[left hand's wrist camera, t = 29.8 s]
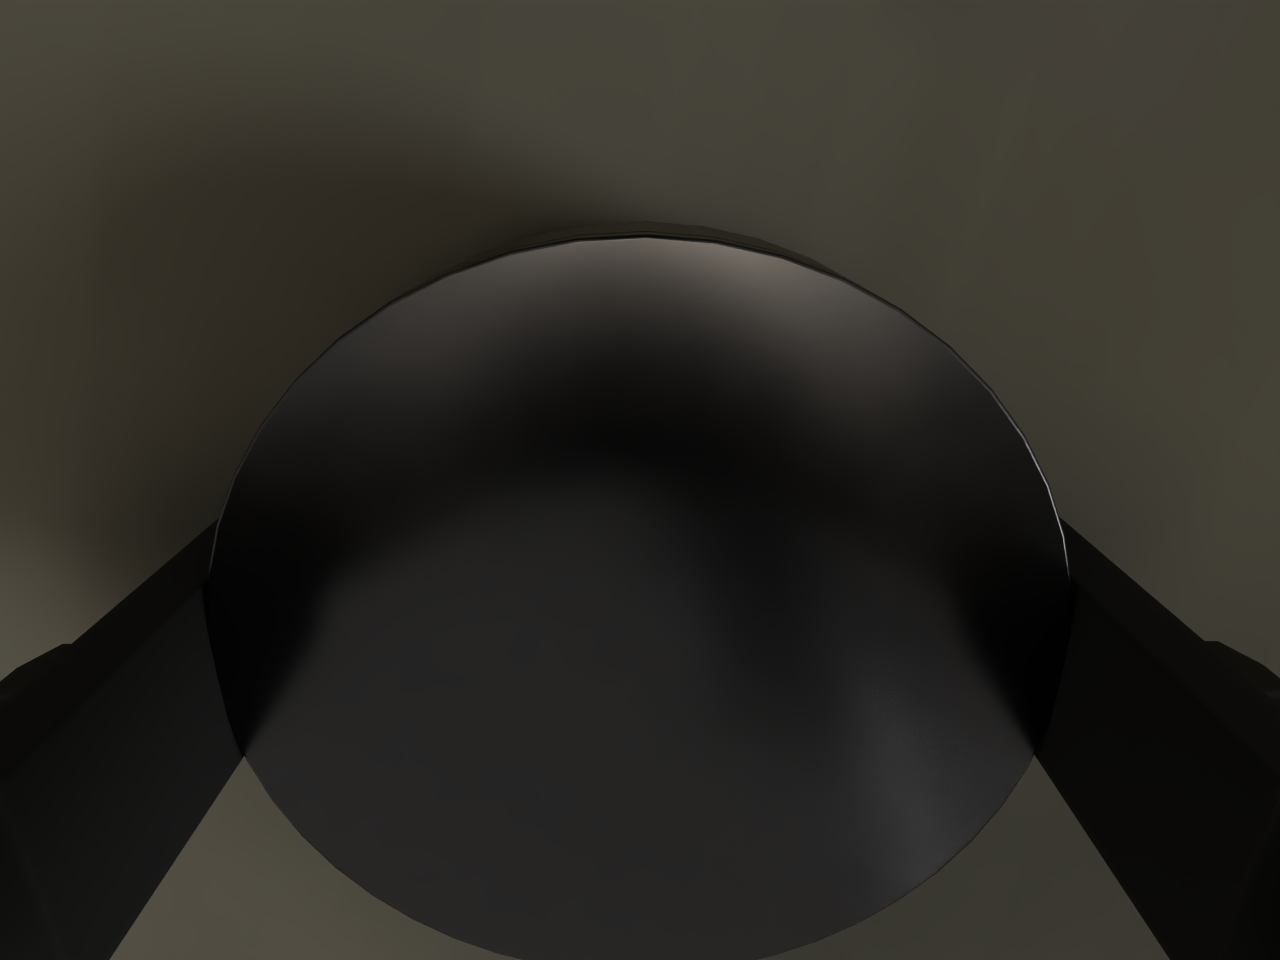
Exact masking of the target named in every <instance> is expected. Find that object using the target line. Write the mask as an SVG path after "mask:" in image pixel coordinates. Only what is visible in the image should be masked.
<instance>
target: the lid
mask: <svg viewBox="0 0 1280 960" xmlns="http://www.w3.org/2000/svg"><path fill="white" fill-rule="evenodd" d="M1071 589H1072V585H1071V578H1070V571H1069V564H1068V557H1067V549H1066V542H1065V535H1064V531H1063V528H1062V525H1061V522H1060V518H1059V515H1058V512H1057V509H1056V505H1055V502H1054V499H1053V496H1052V493H1051V489H1050V486H1049V483H1048V481H1047V479H1046V477H1045V475H1044V473H1043V471H1042V469H1041V467H1040V465H1039V463H1038V461H1037V459H1036V457H1035V455H1034V453H1033V451H1032V449H1031V447H1030V445H1029V443H1028V441H1027V439H1026V437H1025V435H1024V434H1023V432H1022V431H1021V429H1020V428H1019V427H1018V425H1017V424H1016V422H1015V421H1014V419H1013V418H1012V417H1011V415H1010V414H1009V412H1008V411H1007V410H1006V408H1005V407H1004V405H1003V404H1002V403H1001V401H1000V400H999V398H998V397H997V396H996V394H995V393H994V391H993V390H992V389H991V388H990V387H989V386H988V385H987V383H986V382H985V381H984V380H983V379H982V378H981V377H980V376H979V375H978V374H977V373H976V372H975V371H974V370H973V369H972V368H971V367H970V366H969V365H968V364H967V363H966V362H965V361H964V360H963V359H962V358H961V357H960V356H959V355H958V354H957V353H956V352H955V351H954V350H953V349H952V348H951V347H950V346H949V345H948V344H947V343H945V342H944V341H943V340H941V339H940V338H939V337H937V336H936V335H935V334H933V333H932V332H931V331H929V330H928V329H927V328H925V327H924V326H923V325H921V324H920V323H919V322H917V321H916V320H915V319H913V318H912V317H911V316H909V315H908V314H907V313H905V312H904V311H903V310H902V309H900V308H898V307H897V306H895V305H893V304H891V303H890V302H888V301H886V300H884V299H883V298H881V297H879V296H878V295H876V294H874V293H872V292H871V291H869V290H867V289H865V288H864V287H862V286H860V285H858V284H857V283H855V282H853V281H851V280H849V279H847V278H846V277H844V276H842V275H840V274H838V273H837V272H835V271H833V270H831V269H829V268H827V267H826V266H824V265H822V264H820V263H818V262H816V261H815V260H813V259H811V258H809V257H806V256H803V255H801V254H798V253H795V252H793V251H790V250H787V249H785V248H782V247H779V246H777V245H774V244H771V243H769V242H766V241H763V240H761V239H758V238H753V237H749V236H745V235H740V234H736V233H731V232H727V231H722V230H718V229H713V228H709V227H704V226H695V225H683V224H671V223H659V222H647V221H643V222H625V223H607V224H589V225H583V226H578V227H573V228H568V229H562V230H557V231H552V232H547V233H542V234H537V235H532V236H529V237H526V238H523V239H520V240H517V241H514V242H511V243H508V244H506V245H503V246H500V247H497V248H494V249H491V250H488V251H485V252H482V253H479V254H477V255H475V256H473V257H471V258H469V259H467V260H466V261H464V262H462V263H460V264H458V265H456V266H454V267H452V268H450V269H448V270H446V271H444V272H442V273H440V274H438V275H436V276H434V277H432V278H430V279H429V280H427V281H425V282H423V283H422V284H420V285H418V286H416V287H415V288H413V289H411V290H409V291H408V292H406V293H404V294H403V295H401V296H399V297H397V298H396V299H394V300H392V301H390V302H389V303H387V304H386V305H385V306H383V307H382V308H380V309H379V310H378V311H376V312H375V313H373V314H372V315H370V316H369V317H368V318H366V319H365V320H363V321H362V322H361V323H359V324H358V325H356V326H355V327H354V328H352V329H351V330H349V331H348V332H347V333H345V334H344V335H342V336H341V337H340V338H338V339H337V340H336V341H335V342H334V343H333V344H332V345H331V346H330V347H329V348H328V349H327V350H326V351H325V352H324V353H323V354H322V355H320V356H319V357H318V358H317V359H316V360H315V361H314V362H313V363H312V364H311V365H310V366H309V367H308V368H307V369H306V370H305V371H304V372H303V373H302V374H301V375H300V376H299V377H298V378H297V379H296V380H295V381H294V382H293V383H292V385H291V386H290V387H289V389H288V390H287V391H286V393H285V394H284V395H283V397H282V398H281V399H280V400H279V402H278V403H277V404H276V406H275V407H274V408H273V410H272V411H271V412H270V414H269V415H268V416H267V418H266V419H265V420H264V422H263V423H262V424H261V425H260V427H259V429H258V431H257V433H256V435H255V436H254V438H253V440H252V442H251V444H250V446H249V448H248V450H247V451H246V453H245V455H244V457H243V459H242V461H241V463H240V464H239V466H238V468H237V470H236V472H235V474H234V476H233V479H232V482H231V485H230V488H229V491H228V494H227V497H226V499H225V502H224V505H223V508H222V511H221V514H220V517H219V520H218V523H217V527H216V533H215V538H214V544H213V550H212V556H211V561H210V567H209V573H208V614H207V626H208V634H209V640H210V645H211V650H212V655H213V659H214V664H215V669H216V673H217V677H218V681H219V686H220V690H221V694H222V697H223V701H224V705H225V709H226V713H227V717H228V720H229V722H230V725H231V727H232V729H233V731H234V733H235V735H236V738H237V740H238V742H239V744H240V746H241V748H242V751H243V753H244V755H245V757H246V759H247V761H248V763H249V764H250V766H251V768H252V769H253V771H254V772H255V774H256V775H257V777H258V779H259V780H260V782H261V783H262V785H263V786H264V788H265V790H266V791H267V793H268V794H269V796H270V797H271V799H272V801H273V802H274V803H275V804H276V805H277V807H278V808H279V809H280V810H281V811H282V813H283V814H284V815H285V816H286V817H287V819H288V820H289V821H290V822H291V823H292V825H293V826H294V827H295V828H296V829H297V831H298V832H299V833H300V834H301V835H302V836H303V837H304V838H305V839H306V840H307V841H308V842H309V843H310V844H311V845H312V846H313V847H314V848H315V849H316V850H317V851H318V852H320V853H321V854H322V855H323V856H324V857H325V858H326V859H327V860H328V861H329V862H330V863H331V864H332V865H333V866H334V867H335V868H337V869H338V870H339V871H341V872H342V873H343V874H345V875H346V876H347V877H349V878H350V879H351V880H353V881H354V882H355V883H357V884H358V885H359V886H361V887H362V888H363V889H365V890H366V891H367V892H369V893H370V894H371V895H373V896H374V897H376V898H378V899H379V900H381V901H383V902H385V903H386V904H388V905H390V906H391V907H393V908H395V909H396V910H398V911H400V912H401V913H403V914H405V915H406V916H408V917H410V918H411V919H413V920H416V921H418V922H420V923H422V924H424V925H426V926H429V927H431V928H433V929H435V930H437V931H439V932H442V933H444V934H446V935H448V936H450V937H452V938H455V939H457V940H460V941H463V942H466V943H469V944H472V945H475V946H478V947H480V948H483V949H486V950H489V951H492V952H495V953H498V954H502V955H506V956H510V957H514V958H518V959H522V960H756V959H761V958H765V957H769V956H773V955H777V954H780V953H783V952H786V951H789V950H792V949H795V948H798V947H801V946H804V945H807V944H810V943H813V942H816V941H818V940H821V939H823V938H825V937H828V936H830V935H832V934H834V933H837V932H839V931H841V930H843V929H846V928H848V927H850V926H852V925H855V924H857V923H859V922H861V921H863V920H864V919H866V918H868V917H870V916H871V915H873V914H875V913H877V912H879V911H880V910H882V909H884V908H886V907H887V906H889V905H891V904H893V903H894V902H896V901H898V900H899V899H901V898H902V897H904V896H905V895H906V894H908V893H909V892H911V891H912V890H913V889H915V888H916V887H918V886H919V885H920V884H922V883H923V882H925V881H926V880H927V879H929V878H930V877H931V876H933V875H934V874H936V873H937V872H938V871H939V870H940V869H941V868H942V867H944V866H945V865H946V864H947V863H948V862H949V861H950V860H951V859H952V858H954V857H955V856H956V855H957V854H958V853H959V852H960V851H961V850H962V849H963V848H965V847H966V846H967V845H968V844H969V843H970V842H971V841H972V840H973V839H974V838H975V836H976V835H977V834H978V833H979V832H980V831H981V830H982V828H983V827H984V826H985V825H986V824H987V823H988V822H989V820H990V819H991V818H992V817H993V816H994V815H995V814H996V812H997V811H998V810H999V809H1000V808H1001V807H1002V805H1003V804H1004V802H1005V801H1006V799H1007V798H1008V796H1009V795H1010V793H1011V792H1012V790H1013V789H1014V787H1015V786H1016V784H1017V783H1018V781H1019V780H1020V778H1021V777H1022V775H1023V774H1024V772H1025V771H1026V769H1027V768H1028V766H1029V764H1030V762H1031V760H1032V757H1033V755H1034V753H1035V751H1036V749H1037V747H1038V745H1039V743H1040V741H1041V739H1042V737H1043V735H1044V733H1045V731H1046V729H1047V727H1048V724H1049V721H1050V718H1051V715H1052V712H1053V708H1054V704H1055V700H1056V697H1057V693H1058V689H1059V685H1060V680H1061V676H1062V672H1063V667H1064V663H1065V658H1066V653H1067V649H1068V644H1069V640H1070V635H1071Z"/></svg>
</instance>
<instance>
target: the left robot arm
mask: <svg viewBox="0 0 1280 960" xmlns="http://www.w3.org/2000/svg"><path fill="white" fill-rule="evenodd" d="M1059 518H1060V517H1059ZM218 520H219V518H218V519H217V520H216V521H215V522H214V523H212V524H211V525H210V526H209V527H208V528H207V529H205V530H204V531H203V532H202V533H201V534H200V535H198V536H197V537H196V538H195V539H194V540H193V541H191V542H190V543H189V544H188V545H187V546H186V547H184V548H183V549H182V550H181V551H180V552H179V553H177V554H176V555H175V556H174V557H173V558H172V559H170V560H169V561H168V562H167V563H166V564H165V565H163V566H162V567H161V568H160V569H159V570H158V571H156V572H155V573H154V574H153V575H152V576H151V577H149V578H148V579H147V580H146V581H145V582H143V583H142V584H141V585H140V586H139V587H138V588H136V589H135V590H134V591H133V592H132V593H131V594H129V595H128V596H127V597H126V598H125V599H124V600H122V601H121V602H120V603H119V604H118V605H117V606H115V607H114V608H113V609H112V610H111V611H110V612H108V613H107V614H106V615H105V616H104V617H103V618H101V619H100V620H99V621H98V622H97V623H96V624H94V625H93V626H92V627H91V628H90V629H89V630H87V631H86V632H85V633H84V634H83V635H82V636H80V637H79V638H78V639H77V640H76V641H75V642H73V643H72V644H62V645H60V646H58V647H56V648H54V649H52V650H50V651H48V652H46V653H44V654H43V655H41V656H39V657H37V658H35V659H33V660H31V661H29V662H27V663H25V664H24V665H22V666H20V667H18V668H16V669H15V670H14V671H13V672H11V673H10V674H9V675H8V676H7V677H5V678H4V679H3V680H2V681H0V960H109V959H110V958H111V956H112V955H113V953H114V952H115V950H116V949H117V947H118V946H119V944H120V943H121V941H122V940H123V938H124V937H125V935H126V934H127V932H128V931H129V929H130V928H131V926H132V925H133V923H134V922H135V920H136V919H137V917H138V916H139V914H140V913H141V911H142V910H143V908H144V906H145V905H146V903H147V902H148V900H149V899H150V897H151V896H152V894H153V893H154V891H155V890H156V888H157V887H158V885H159V884H160V882H161V881H162V879H163V878H164V876H165V875H166V873H167V872H168V870H169V869H170V867H171V866H172V864H173V863H174V861H175V860H176V858H177V857H178V855H179V854H180V852H181V851H182V849H183V848H184V846H185V845H186V843H187V841H188V840H189V838H190V837H191V835H192V834H193V832H194V831H195V829H196V828H197V826H198V825H199V823H200V822H201V820H202V819H203V817H204V816H205V814H206V813H207V811H208V810H209V808H210V807H211V805H212V804H213V802H214V801H215V799H216V798H217V796H218V795H219V793H220V792H221V790H222V789H223V787H224V786H225V784H226V783H227V781H228V779H229V778H230V776H231V775H232V773H233V772H234V770H235V769H236V767H237V766H238V764H239V763H240V761H241V760H242V758H243V757H244V753H243V751H242V748H241V746H240V744H239V742H238V740H237V738H236V735H235V733H234V731H233V729H232V727H231V725H230V722H229V720H228V717H227V713H226V709H225V705H224V701H223V697H222V694H221V690H220V686H219V681H218V677H217V673H216V669H215V664H214V659H213V655H212V650H211V645H210V640H209V634H208V626H207V614H208V573H209V567H210V561H211V556H212V550H213V544H214V538H215V533H216V527H217V523H218ZM1060 522H1061V525H1062V528H1063V531H1064V535H1065V542H1066V549H1067V557H1068V564H1069V571H1070V578H1071V585H1072V589H1071V635H1070V640H1069V644H1068V649H1067V653H1066V658H1065V663H1064V667H1063V672H1062V676H1061V680H1060V685H1059V689H1058V693H1057V697H1056V700H1055V704H1054V708H1053V712H1052V715H1051V718H1050V721H1049V724H1048V727H1047V729H1046V731H1045V733H1044V735H1043V737H1042V739H1041V741H1040V743H1039V745H1038V747H1037V749H1036V751H1035V753H1034V755H1035V756H1036V758H1037V759H1038V761H1039V762H1040V764H1041V765H1042V767H1043V768H1044V770H1045V771H1046V773H1047V774H1048V776H1049V777H1050V779H1051V780H1052V782H1053V783H1054V785H1055V786H1056V788H1057V789H1058V791H1059V792H1060V794H1061V795H1062V797H1063V798H1064V800H1065V801H1066V803H1067V804H1068V806H1069V808H1070V809H1071V811H1072V812H1073V814H1074V815H1075V817H1076V818H1077V820H1078V821H1079V823H1080V824H1081V826H1082V827H1083V829H1084V830H1085V832H1086V833H1087V835H1088V836H1089V838H1090V839H1091V841H1092V842H1093V844H1094V845H1095V847H1096V848H1097V850H1098V851H1099V853H1100V854H1101V856H1102V857H1103V859H1104V860H1105V862H1106V863H1107V865H1108V866H1109V868H1110V870H1111V871H1112V873H1113V874H1114V876H1115V877H1116V879H1117V880H1118V882H1119V883H1120V885H1121V886H1122V888H1123V889H1124V891H1125V892H1126V894H1127V895H1128V897H1129V898H1130V900H1131V901H1132V903H1133V904H1134V906H1135V907H1136V909H1137V910H1138V912H1139V913H1140V915H1141V916H1142V918H1143V919H1144V921H1145V922H1146V924H1147V925H1148V927H1149V928H1150V930H1151V932H1152V933H1153V935H1154V936H1155V938H1156V939H1157V941H1158V942H1159V944H1160V945H1161V947H1162V948H1163V950H1164V951H1165V953H1166V954H1167V956H1168V957H1169V959H1170V960H1280V678H1279V677H1277V676H1276V675H1275V674H1274V673H1273V672H1271V671H1270V670H1269V669H1268V668H1266V667H1265V666H1264V665H1262V664H1260V663H1259V662H1257V661H1255V660H1253V659H1251V658H1249V657H1247V656H1245V655H1243V654H1241V653H1239V652H1237V651H1236V650H1234V649H1232V648H1230V647H1228V646H1226V645H1224V644H1222V643H1220V642H1218V641H1204V640H1203V639H1201V638H1200V637H1199V636H1198V635H1197V634H1196V633H1194V632H1193V631H1192V630H1191V629H1190V628H1189V627H1187V626H1186V625H1185V624H1184V623H1183V622H1182V621H1180V620H1179V619H1178V618H1177V617H1176V616H1175V615H1173V614H1172V613H1171V612H1170V611H1169V610H1167V609H1166V608H1165V607H1164V606H1163V605H1162V604H1160V603H1159V602H1158V601H1157V600H1156V599H1155V598H1153V597H1152V596H1151V595H1150V594H1149V593H1148V592H1146V591H1145V590H1144V589H1143V588H1142V587H1141V586H1139V585H1138V584H1137V583H1136V582H1135V581H1134V580H1132V579H1131V578H1130V577H1129V576H1128V575H1127V574H1125V573H1124V572H1123V571H1122V570H1121V569H1120V568H1118V567H1117V566H1116V565H1115V564H1114V563H1113V562H1111V561H1110V560H1109V559H1108V558H1107V557H1106V556H1104V555H1103V554H1102V553H1101V552H1100V551H1099V550H1097V549H1096V548H1095V547H1094V546H1093V545H1092V544H1090V543H1089V542H1088V541H1087V540H1086V539H1085V538H1083V537H1082V536H1081V535H1080V534H1079V533H1077V532H1076V531H1075V530H1074V529H1073V528H1072V527H1070V526H1069V525H1068V524H1067V523H1066V522H1065V521H1063V520H1062V519H1061V518H1060Z"/></svg>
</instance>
